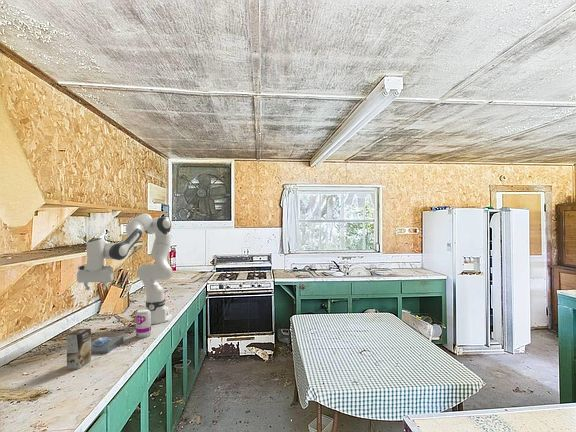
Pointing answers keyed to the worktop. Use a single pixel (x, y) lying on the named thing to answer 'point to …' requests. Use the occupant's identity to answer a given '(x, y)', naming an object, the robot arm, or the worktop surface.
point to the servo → (101, 341)
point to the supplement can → (143, 323)
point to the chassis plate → (106, 345)
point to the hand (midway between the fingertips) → (95, 289)
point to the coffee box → (78, 348)
